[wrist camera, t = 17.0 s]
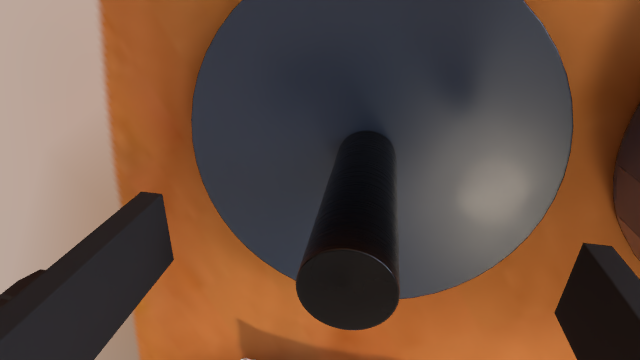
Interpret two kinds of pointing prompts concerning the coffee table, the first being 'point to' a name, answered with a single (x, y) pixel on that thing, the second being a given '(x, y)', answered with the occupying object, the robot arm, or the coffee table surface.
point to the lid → (381, 142)
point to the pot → (629, 184)
